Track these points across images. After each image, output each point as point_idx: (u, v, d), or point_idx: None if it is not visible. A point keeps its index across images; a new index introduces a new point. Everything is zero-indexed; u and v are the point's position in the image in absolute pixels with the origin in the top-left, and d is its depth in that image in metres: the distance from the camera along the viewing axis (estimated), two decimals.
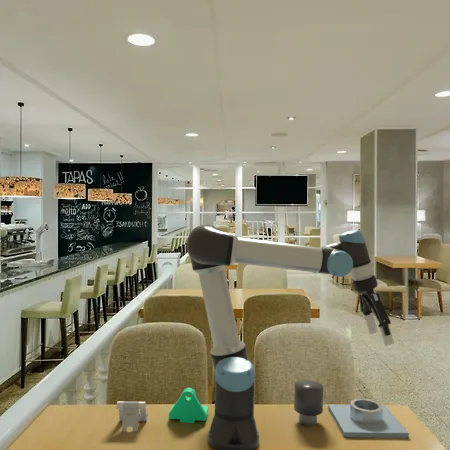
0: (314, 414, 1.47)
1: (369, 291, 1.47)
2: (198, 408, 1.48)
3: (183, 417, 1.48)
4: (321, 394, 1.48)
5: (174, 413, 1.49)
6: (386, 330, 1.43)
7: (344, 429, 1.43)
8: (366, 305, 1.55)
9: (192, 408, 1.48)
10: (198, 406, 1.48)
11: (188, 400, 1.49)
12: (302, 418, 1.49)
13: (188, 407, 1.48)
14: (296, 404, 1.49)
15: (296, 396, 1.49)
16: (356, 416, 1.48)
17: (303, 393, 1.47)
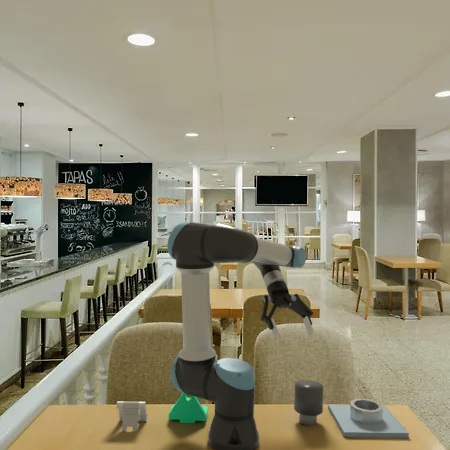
0: (314, 414, 1.47)
1: None
2: (198, 408, 1.48)
3: (183, 417, 1.48)
4: (321, 394, 1.48)
5: (174, 414, 1.48)
6: None
7: (344, 429, 1.43)
8: None
9: (192, 409, 1.48)
10: (198, 406, 1.48)
11: (188, 400, 1.49)
12: (302, 418, 1.49)
13: (188, 407, 1.48)
14: (296, 404, 1.49)
15: (296, 396, 1.49)
16: (356, 416, 1.48)
17: (303, 393, 1.47)
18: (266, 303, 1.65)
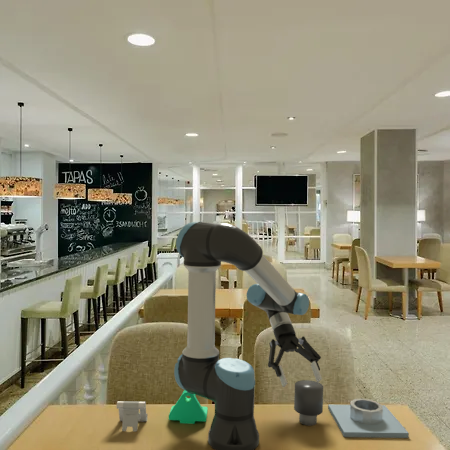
0: (314, 414, 1.47)
1: None
2: (198, 409, 1.47)
3: (183, 418, 1.48)
4: (321, 394, 1.48)
5: (174, 414, 1.48)
6: None
7: (344, 429, 1.43)
8: (282, 354, 1.62)
9: (192, 409, 1.48)
10: (198, 407, 1.47)
11: (188, 401, 1.48)
12: (302, 418, 1.49)
13: (188, 408, 1.48)
14: (296, 404, 1.49)
15: (296, 396, 1.49)
16: (356, 416, 1.48)
17: (303, 392, 1.47)
18: (273, 348, 1.61)
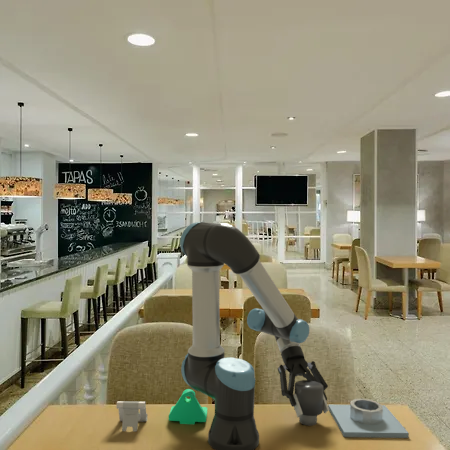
0: (314, 414, 1.46)
1: None
2: (198, 409, 1.47)
3: (183, 419, 1.47)
4: (321, 394, 1.48)
5: (174, 415, 1.47)
6: None
7: (344, 429, 1.43)
8: None
9: (192, 410, 1.47)
10: (198, 407, 1.47)
11: (188, 401, 1.48)
12: (302, 418, 1.49)
13: (188, 409, 1.47)
14: None
15: None
16: (356, 416, 1.48)
17: (303, 393, 1.47)
18: (284, 374, 1.53)
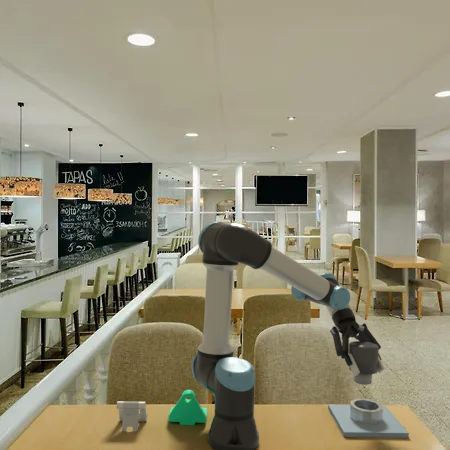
0: (371, 373, 1.47)
1: None
2: (198, 410, 1.47)
3: (183, 419, 1.47)
4: (377, 353, 1.48)
5: (174, 416, 1.47)
6: None
7: (344, 429, 1.43)
8: None
9: (192, 410, 1.47)
10: (198, 408, 1.47)
11: (188, 402, 1.47)
12: (358, 378, 1.50)
13: (188, 409, 1.47)
14: None
15: None
16: (356, 416, 1.48)
17: (360, 352, 1.47)
18: (338, 335, 1.54)
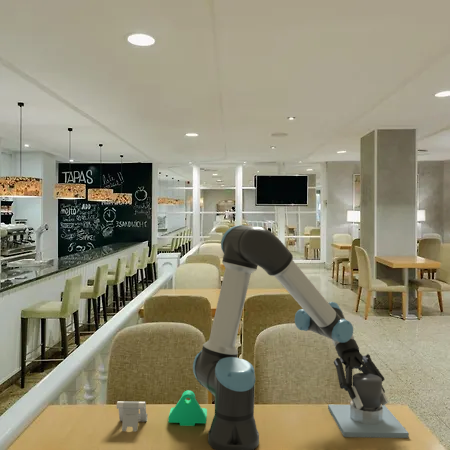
0: (374, 406, 1.47)
1: None
2: (198, 411, 1.46)
3: (183, 420, 1.46)
4: (380, 386, 1.48)
5: (174, 417, 1.46)
6: None
7: (344, 429, 1.43)
8: None
9: (192, 411, 1.46)
10: (198, 409, 1.46)
11: (188, 403, 1.47)
12: None
13: (188, 410, 1.46)
14: None
15: None
16: (356, 416, 1.48)
17: (363, 385, 1.47)
18: (341, 367, 1.54)
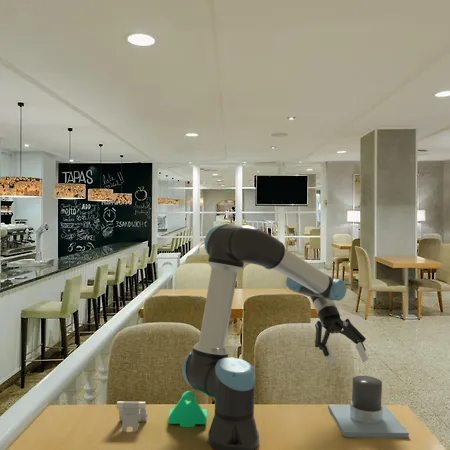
0: (374, 409, 1.47)
1: None
2: (198, 411, 1.46)
3: (183, 421, 1.46)
4: (380, 389, 1.48)
5: (174, 418, 1.45)
6: None
7: (344, 429, 1.43)
8: (328, 335, 1.65)
9: (192, 412, 1.46)
10: (198, 409, 1.45)
11: (188, 404, 1.46)
12: None
13: (188, 411, 1.45)
14: (355, 399, 1.50)
15: (355, 391, 1.50)
16: (356, 416, 1.48)
17: (363, 388, 1.47)
18: (320, 329, 1.65)
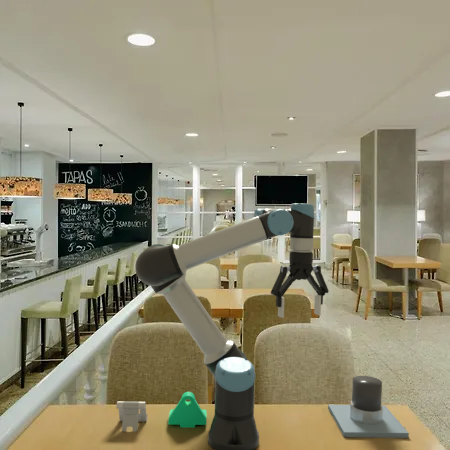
0: (374, 409, 1.47)
1: None
2: (198, 412, 1.45)
3: (183, 422, 1.45)
4: (380, 389, 1.48)
5: (174, 419, 1.45)
6: None
7: (344, 429, 1.43)
8: None
9: (192, 413, 1.45)
10: (198, 410, 1.45)
11: (188, 404, 1.46)
12: None
13: (188, 412, 1.45)
14: (355, 399, 1.50)
15: (355, 391, 1.50)
16: (356, 416, 1.48)
17: (363, 388, 1.47)
18: (283, 277, 1.46)
